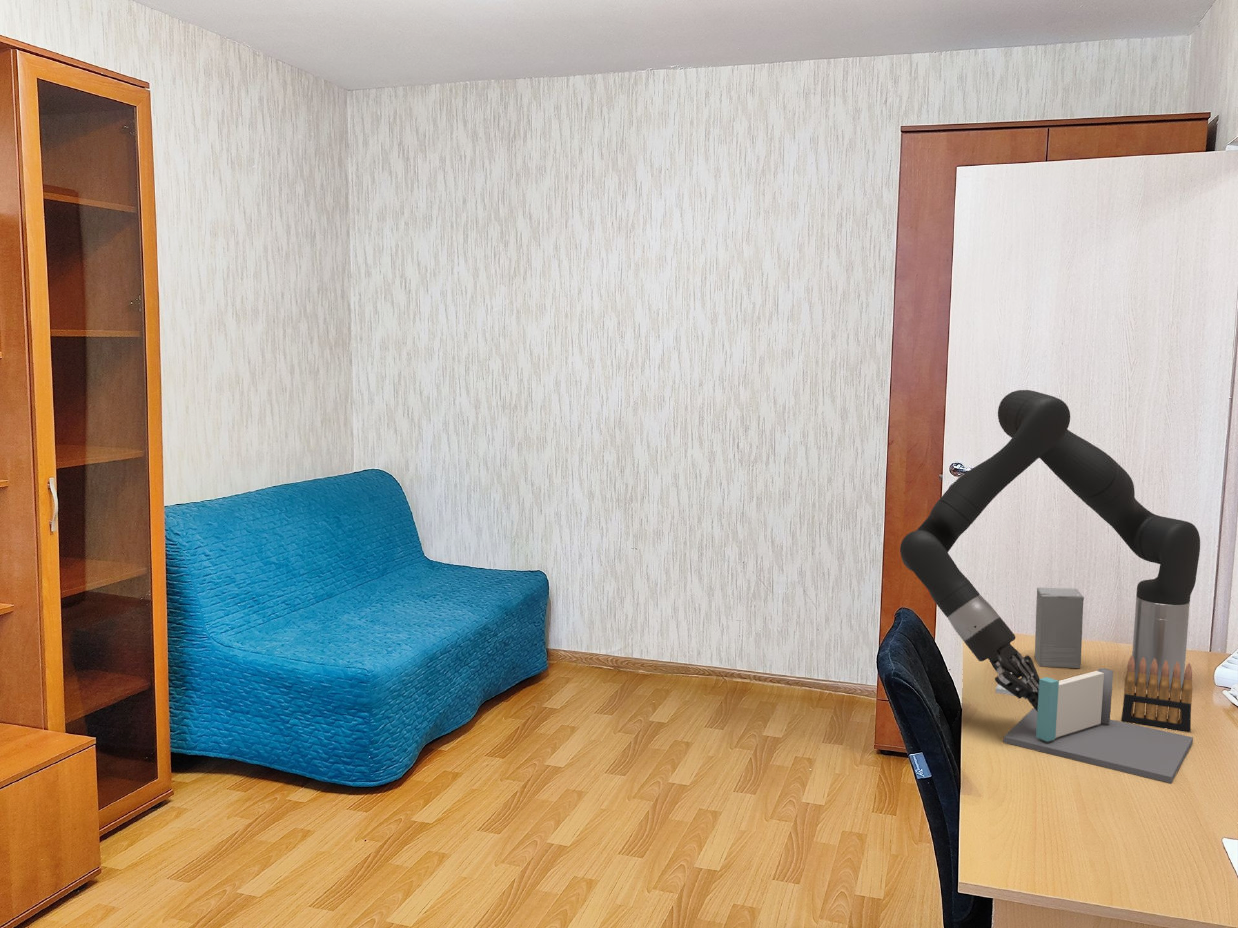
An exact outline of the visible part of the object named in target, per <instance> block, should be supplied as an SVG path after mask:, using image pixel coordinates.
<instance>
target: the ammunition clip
mask: <svg viewBox="0 0 1238 928" xmlns="http://www.w3.org/2000/svg"><path fill="white" fill-rule="evenodd" d="M1125 674H1126V675H1125V678H1124V691H1123V702H1122V703H1123V704H1122V711H1121V720H1120V722H1125V723H1129V724H1133V723H1135V724H1134V725H1139V726H1145V727H1152V728H1153V727H1154V728H1157V729H1164V728H1167V729H1166V730H1170V729H1171V730H1170V731H1176V730H1177V731H1179V732H1182V733H1183V732H1184V733H1191V729H1192V728H1191V725H1192V724H1191V723H1192V721H1191V719H1192V717H1191V715H1192V702H1193V689H1194V688H1193V670H1192V665H1191V663H1189V662H1188V663H1187V665H1186V666H1185V670H1184V681H1183V685H1182V690H1181V683H1180V680H1181V678H1180V676H1181V671H1180V665H1179V662H1176V664H1175V666H1174V670H1173V677H1172V682H1171V685H1170V684H1169V665H1168V662H1167V660H1165V662H1164V664H1163V667H1162V672H1161V679H1160V683H1159V691H1158V666H1157V661H1156V659H1154V660H1153V662H1152V664H1151V669H1150V675H1149V680H1148V687H1147V680H1146V661H1145V658H1144V657H1143V658H1142V659H1141V661H1140V665H1139V672H1138V677H1137V681H1136V685H1135V662H1134V658H1133V656H1132V655H1130V657H1129V659H1128V662H1127V670H1126V673H1125ZM1146 687H1147V688H1146ZM1169 688H1170V692H1169Z"/></svg>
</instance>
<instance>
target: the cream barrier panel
mask: <svg viewBox="0 0 1238 928" xmlns="http://www.w3.org/2000/svg"><path fill="white" fill-rule="evenodd" d="M1113 680H1114V671H1113V670H1111V669H1109V668H1104V667H1103V668H1101V667H1100V668H1097V670H1095V671H1091V672H1086V673H1083V674H1080V675H1075V676H1072V677H1069V678H1064V679H1062V680H1057V679H1054V678H1052V677H1049V676H1048V677H1047V676H1046V677H1042V678H1040V679H1039V695H1038V711H1037V728H1036V737H1037V738H1039V739H1042V740H1045V741H1047V742H1048V741H1051V740H1055V738H1056V737H1059V736H1063V735H1066V734H1069V733H1072V732H1075V731H1079V730H1082V729H1085V728H1088V727H1091V726H1095V725H1098V724H1101V723H1109V722H1110V719H1111V713H1112V712H1111V708H1112V693H1113Z"/></svg>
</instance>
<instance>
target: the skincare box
mask: <svg viewBox="0 0 1238 928" xmlns="http://www.w3.org/2000/svg"><path fill="white" fill-rule="evenodd" d="M1036 590H1037V591H1036V604H1035V607H1036V611H1035V635H1034V636H1035V638H1034V640H1035V641H1034V658H1035V660H1036V662H1037V664H1038V666H1039V667H1042V668H1043V667H1045V668H1046V667H1049V668H1070V669H1071V668H1072V669H1080V668H1081V667H1082V647H1083V646H1082V641H1083V640H1082V639H1083V622H1084V621H1083V620H1084V619H1083V618H1084V617H1083V615H1084V600H1085V596H1084V595H1082V593H1081V592H1080V591H1079V589H1078V588H1072V587H1071V588H1068V587H1067V588H1066V587H1065V588H1062V587H1058V588H1057V587H1036Z"/></svg>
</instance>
